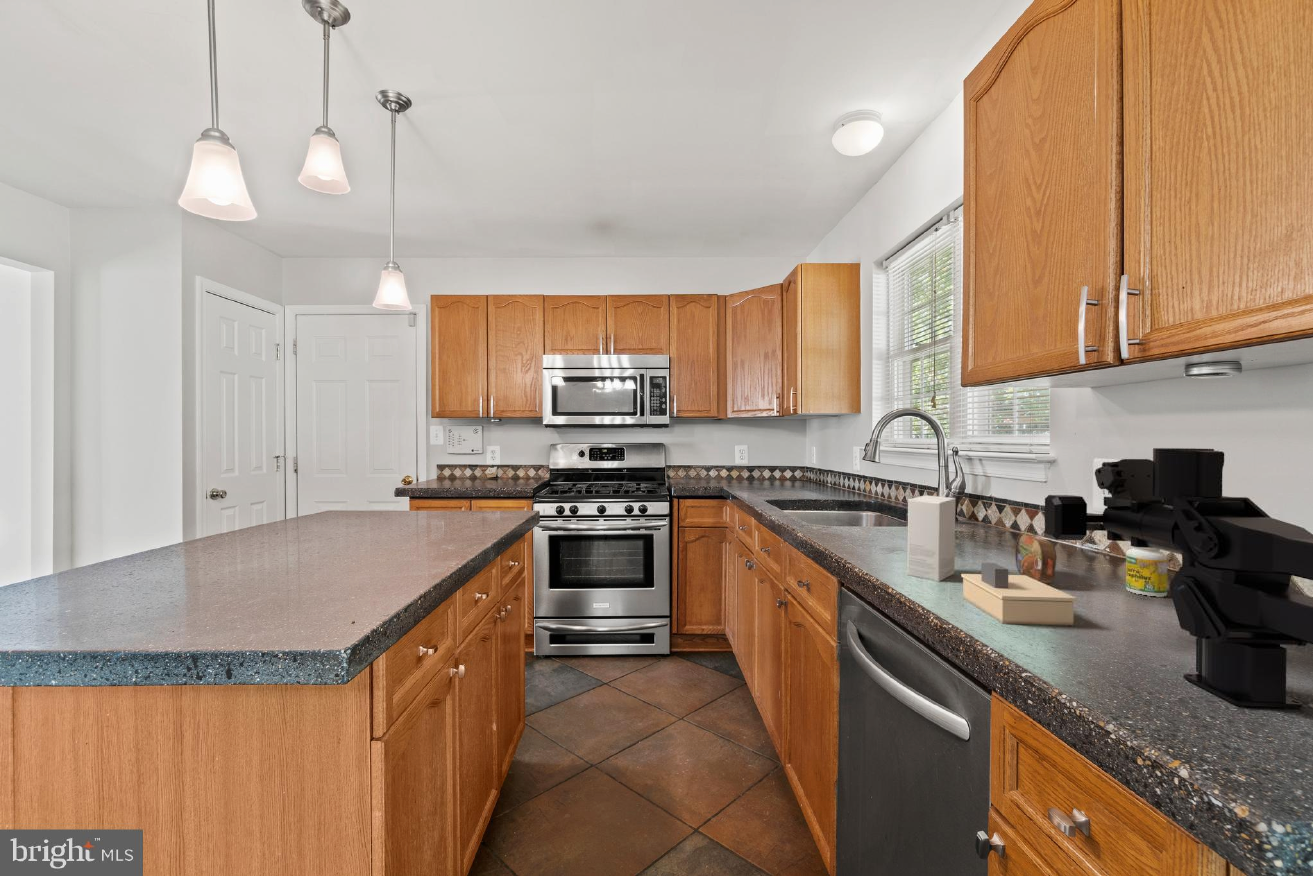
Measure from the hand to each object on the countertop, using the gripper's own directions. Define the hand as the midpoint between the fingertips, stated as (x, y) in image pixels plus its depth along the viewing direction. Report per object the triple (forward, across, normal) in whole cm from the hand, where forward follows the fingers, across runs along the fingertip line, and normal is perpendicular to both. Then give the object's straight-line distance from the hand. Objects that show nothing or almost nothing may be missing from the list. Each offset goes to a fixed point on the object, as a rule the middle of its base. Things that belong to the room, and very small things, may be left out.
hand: (1077, 509), depth 83 cm
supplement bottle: (+13, -20, +17) cm, 29 cm away
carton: (+1, +9, +17) cm, 19 cm away
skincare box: (+22, +13, +17) cm, 30 cm away
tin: (+21, -6, +17) cm, 27 cm away
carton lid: (+1, +9, +13) cm, 16 cm away
